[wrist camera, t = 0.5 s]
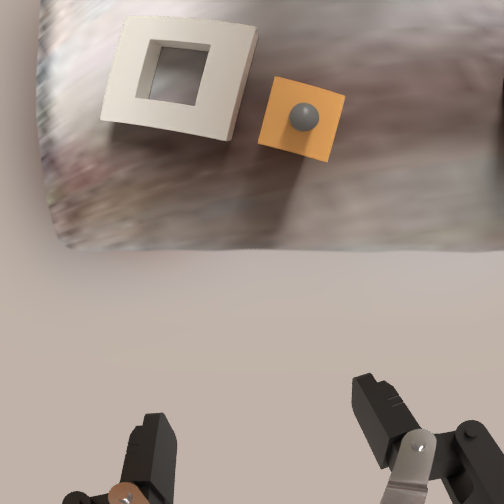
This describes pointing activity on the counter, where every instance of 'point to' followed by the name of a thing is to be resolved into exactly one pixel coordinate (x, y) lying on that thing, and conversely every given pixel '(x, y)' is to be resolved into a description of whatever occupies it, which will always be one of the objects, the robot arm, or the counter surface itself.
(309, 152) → the plug
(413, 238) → the counter surface
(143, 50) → the socket
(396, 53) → the counter surface
